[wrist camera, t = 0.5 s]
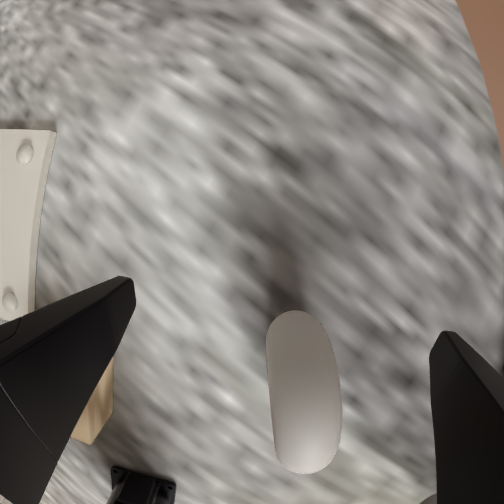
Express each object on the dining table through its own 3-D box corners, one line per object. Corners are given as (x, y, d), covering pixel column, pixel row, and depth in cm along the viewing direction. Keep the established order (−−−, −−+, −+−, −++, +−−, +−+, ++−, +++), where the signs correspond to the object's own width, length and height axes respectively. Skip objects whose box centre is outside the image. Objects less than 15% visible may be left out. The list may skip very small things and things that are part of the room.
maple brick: (113, 412, 24) (90, 445, 19) (55, 389, 23) (27, 416, 18) (114, 353, 23) (86, 382, 18) (52, 331, 23) (18, 353, 18)
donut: (314, 410, 23) (341, 502, 13) (270, 415, 23) (278, 510, 13) (312, 289, 22) (354, 346, 12) (261, 294, 22) (267, 356, 12)
